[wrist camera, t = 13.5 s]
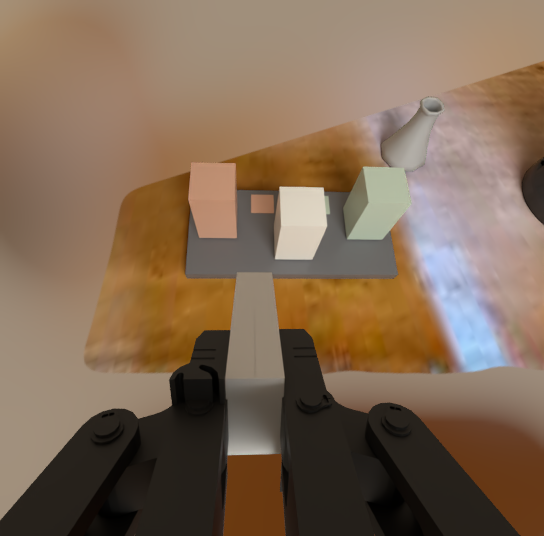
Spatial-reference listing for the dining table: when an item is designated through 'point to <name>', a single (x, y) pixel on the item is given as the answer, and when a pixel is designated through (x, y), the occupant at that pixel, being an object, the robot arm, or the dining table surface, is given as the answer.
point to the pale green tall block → (376, 202)
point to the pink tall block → (214, 199)
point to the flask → (412, 137)
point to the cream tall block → (299, 222)
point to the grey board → (261, 258)
